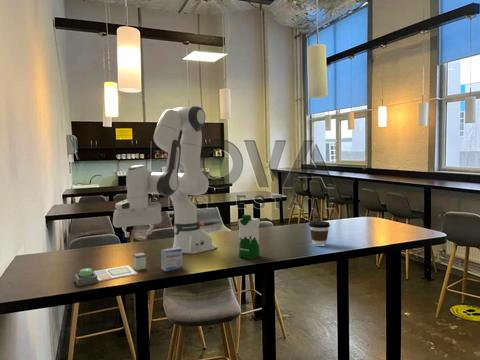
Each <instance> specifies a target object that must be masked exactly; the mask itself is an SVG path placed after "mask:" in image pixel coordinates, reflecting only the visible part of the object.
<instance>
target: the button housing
mask: <svg viewBox="0 0 480 360" xmlns="http://www.w3.org/2000/svg"><path fill="white" fill-rule="evenodd" d="M94 271H95V270H92V276H91V277H85V278H80V273H76V274H74V282H75V283H76V285H77V286H78V287H80V286H86V285H90V284H91V285H92V284H96V283H98V282H99V281H98V277H97V275H96V273H95V272H94Z"/></svg>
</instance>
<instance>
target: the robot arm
mask: <svg viewBox="0 0 480 360" xmlns="http://www.w3.org/2000/svg"><path fill="white" fill-rule="evenodd" d="M205 122H206V113H205V111H204V109H203V108H202V107H200V106H195V105H194V106H181V107H175V108H169V109H166V110H164V111H163V112H162V114H161V116H160V118H159V119H158V122H157V123H156V127H155V129H154V133H153V141H154V144H155V145H156V146H157V147H158V148H159V149H161V150H162V151H164V152H166V153H167V158H166V159H167V160H166V167H165V169H164V171H162V172H157V171H156V172H155V171H151V170H149V169H148V168H147V166H146V165H145V164H136V165H131V166H129V167H128V168H127V171H126V175H125V177H126V178H125V182H126V183H125V185H126V190H127V193H126V199H124V200H122V201H119V202H116V203H115V204H114V205H115V209H114V211H113V215H112V226H114V228H117V229H118V228H121V229H122V232H123V233H124V237H125V238H130V232H128V231H127V227H135V226H143V225H148V226H150V227H149V228H148V229H147V230H146V235H152V230H153V228H154V227H155V225H157V224H161V223H162V219H163V217H162V204H161V203H160V202H158V201H153V202H149V194H151V195H161V196H166V197H169V198H170V201H171V202H172V205H173V211H174V223H173V232H174V239H173V245H172V248H174V247H179V248H181V249H182V254H190V255H191V254H195V255H196V254H198V253H202V252H208V251H211V250H215V248H216V247H217V245H216V244H215V243H213V242H212V241H213V239H212V237H211V235H210V234H209V233H207V232H206V231H205V230H203V229H202V228H201V227H204V226H205V224H204V223H203V222H199V221H198V217H197V216H198V214H197V213H198V212H197V210H198V209H197V205H196V204H195V203H193V202H192V201H191V199H190V198H189V196H200V195H204V194H206V193H207V191H208V189H209V185H210V182H209V180H208V177H207V176H206V175H205V174H204V172H203V170H202V168H201V153H202V144H203V143H202V142H203V135H202V129H203V127H204V125H205ZM181 132H182V134H181V138H180V141H179V136H180V133H181ZM180 165H182V167H183V170H184V171H183V172H179V170H180ZM216 249H217V248H216Z"/></svg>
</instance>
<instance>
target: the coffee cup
mask: <svg viewBox="0 0 480 360" xmlns="http://www.w3.org/2000/svg"><path fill="white" fill-rule="evenodd" d="M330 226H331V224H330V222H328V221H325V220H313V221H310V222H309V223H308V227H309V228H310V230H309V232H310V236H311V240H312V241H311V242H312V245H313V244H317V245H322V244H326V243H327V240H328V235H329V228H330Z"/></svg>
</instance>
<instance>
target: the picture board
mask: <svg viewBox="0 0 480 360" xmlns="http://www.w3.org/2000/svg"><path fill="white" fill-rule="evenodd" d="M93 271H94V272H95V273H96V275H97V277H98V282H99V283H100V282H104V281H109V280H110V281H111V280H115V279H116V280H117V279H120V278H126V277H131V276H137V275H138V272H137V271H135V269H133V268H132V267H131V266H130V265H128V264H127V265H122V266H116V267H110V268H105V269H100V270H93Z"/></svg>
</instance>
